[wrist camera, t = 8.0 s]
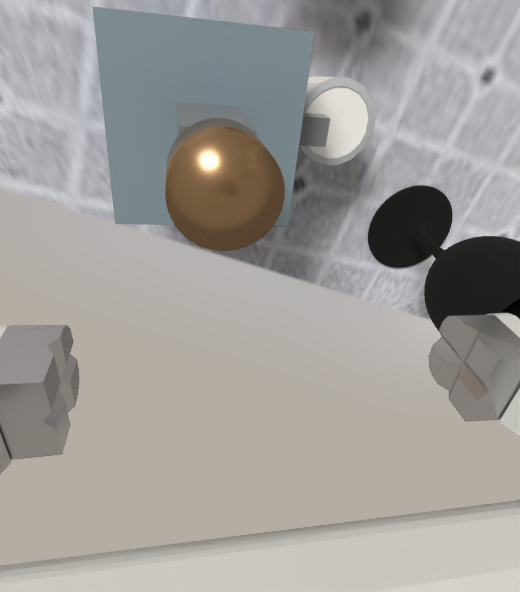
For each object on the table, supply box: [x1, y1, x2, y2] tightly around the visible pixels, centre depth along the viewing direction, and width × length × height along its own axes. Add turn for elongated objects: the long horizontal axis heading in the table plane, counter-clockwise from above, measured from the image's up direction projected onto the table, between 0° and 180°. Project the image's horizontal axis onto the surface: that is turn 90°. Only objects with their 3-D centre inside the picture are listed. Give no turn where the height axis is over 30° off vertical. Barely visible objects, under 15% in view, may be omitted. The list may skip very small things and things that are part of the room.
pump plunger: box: [165, 118, 285, 251], centre depth 21 cm, size 5×5×11 cm
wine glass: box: [368, 186, 520, 332], centre depth 40 cm, size 10×10×20 cm
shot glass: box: [299, 77, 376, 165], centre depth 36 cm, size 7×7×7 cm
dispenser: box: [93, 7, 330, 226], centre depth 29 cm, size 15×12×21 cm
